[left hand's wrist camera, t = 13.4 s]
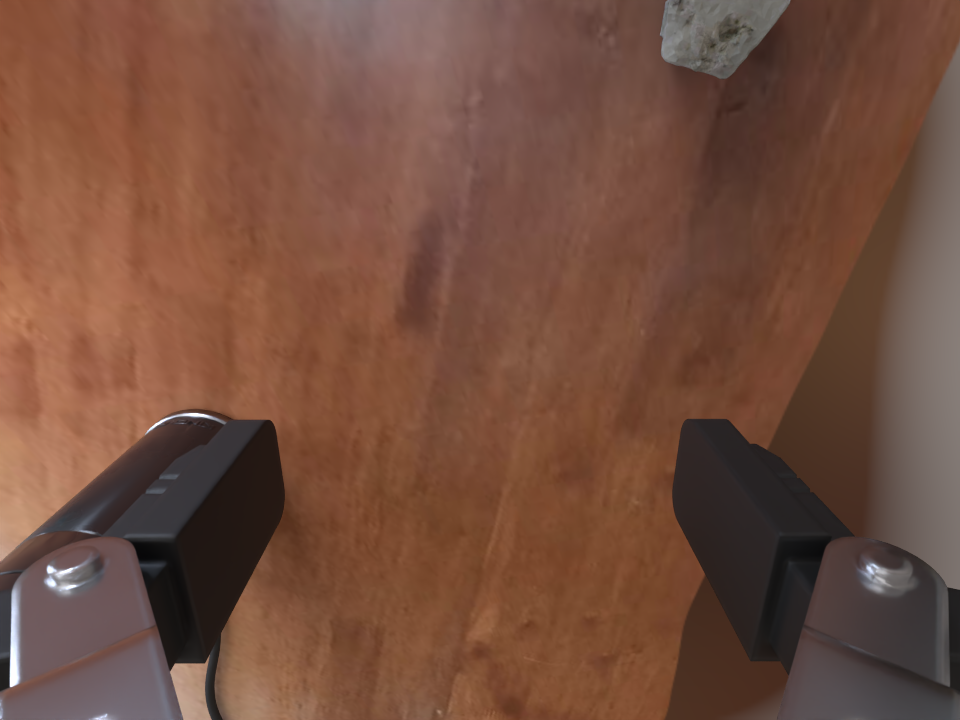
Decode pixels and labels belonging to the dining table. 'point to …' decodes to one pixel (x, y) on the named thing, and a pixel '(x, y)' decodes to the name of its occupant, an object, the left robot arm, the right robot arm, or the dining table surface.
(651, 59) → the dining table surface
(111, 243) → the dining table surface
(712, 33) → the mineral specimen
